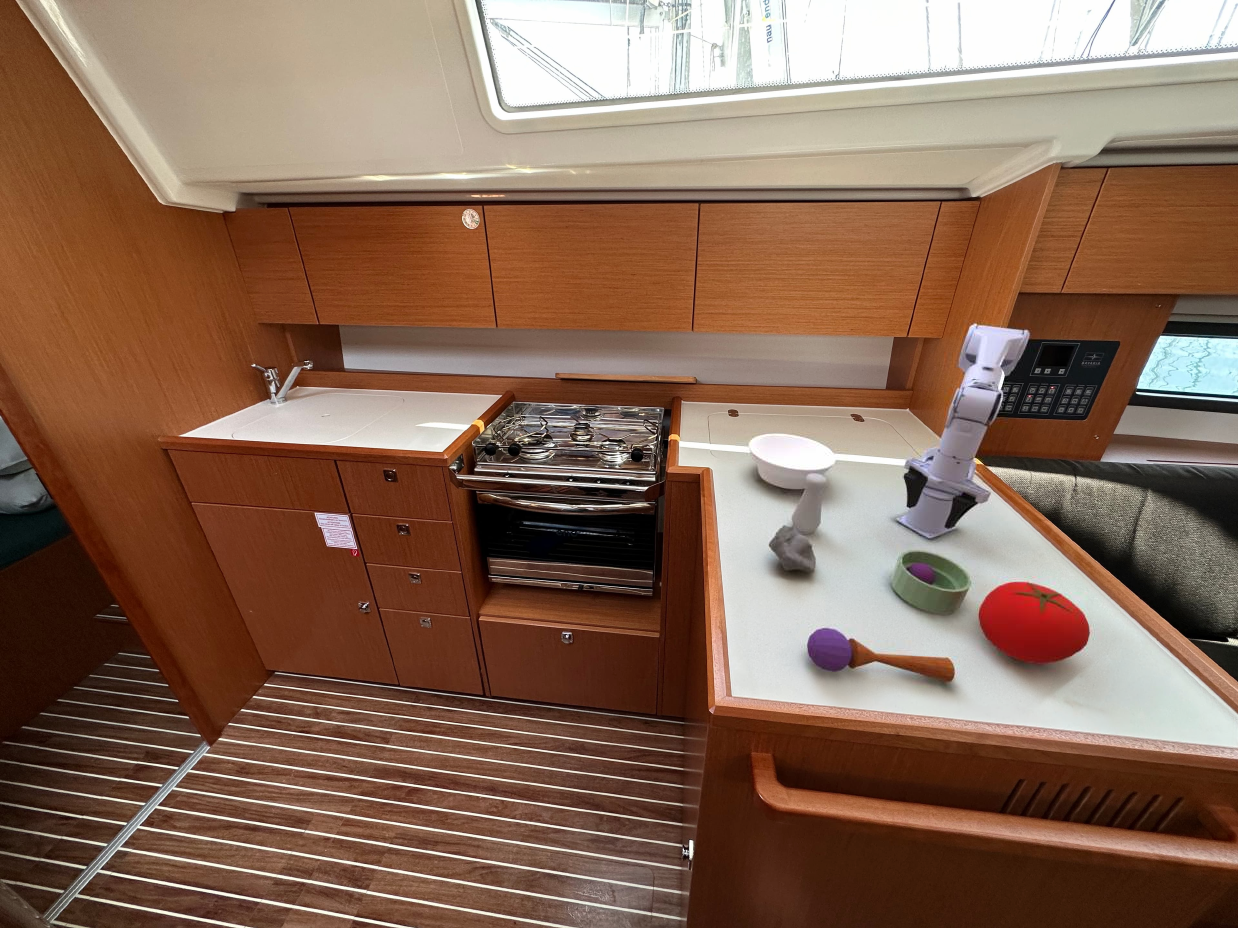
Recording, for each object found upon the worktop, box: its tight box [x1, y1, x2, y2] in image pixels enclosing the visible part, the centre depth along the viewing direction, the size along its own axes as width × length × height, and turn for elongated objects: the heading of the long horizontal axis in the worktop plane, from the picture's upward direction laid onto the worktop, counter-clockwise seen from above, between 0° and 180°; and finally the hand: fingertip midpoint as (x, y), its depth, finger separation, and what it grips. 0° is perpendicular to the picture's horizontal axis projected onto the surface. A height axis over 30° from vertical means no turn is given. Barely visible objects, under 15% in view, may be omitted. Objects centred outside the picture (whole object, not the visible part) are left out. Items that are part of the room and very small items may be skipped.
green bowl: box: [890, 549, 972, 615], centre depth 84 cm, size 11×11×6 cm
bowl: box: [748, 433, 837, 490], centre depth 120 cm, size 21×21×8 cm
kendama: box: [806, 627, 956, 683], centre depth 69 cm, size 6×6×20 cm
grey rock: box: [768, 524, 817, 573], centre depth 89 cm, size 11×9×8 cm
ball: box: [907, 563, 936, 585], centre depth 85 cm, size 4×4×4 cm
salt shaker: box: [791, 473, 828, 535], centre depth 99 cm, size 6×6×13 cm
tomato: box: [978, 581, 1091, 665], centre depth 72 cm, size 12×13×11 cm
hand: (929, 516), depth 91 cm, fingers open, 7 cm apart
